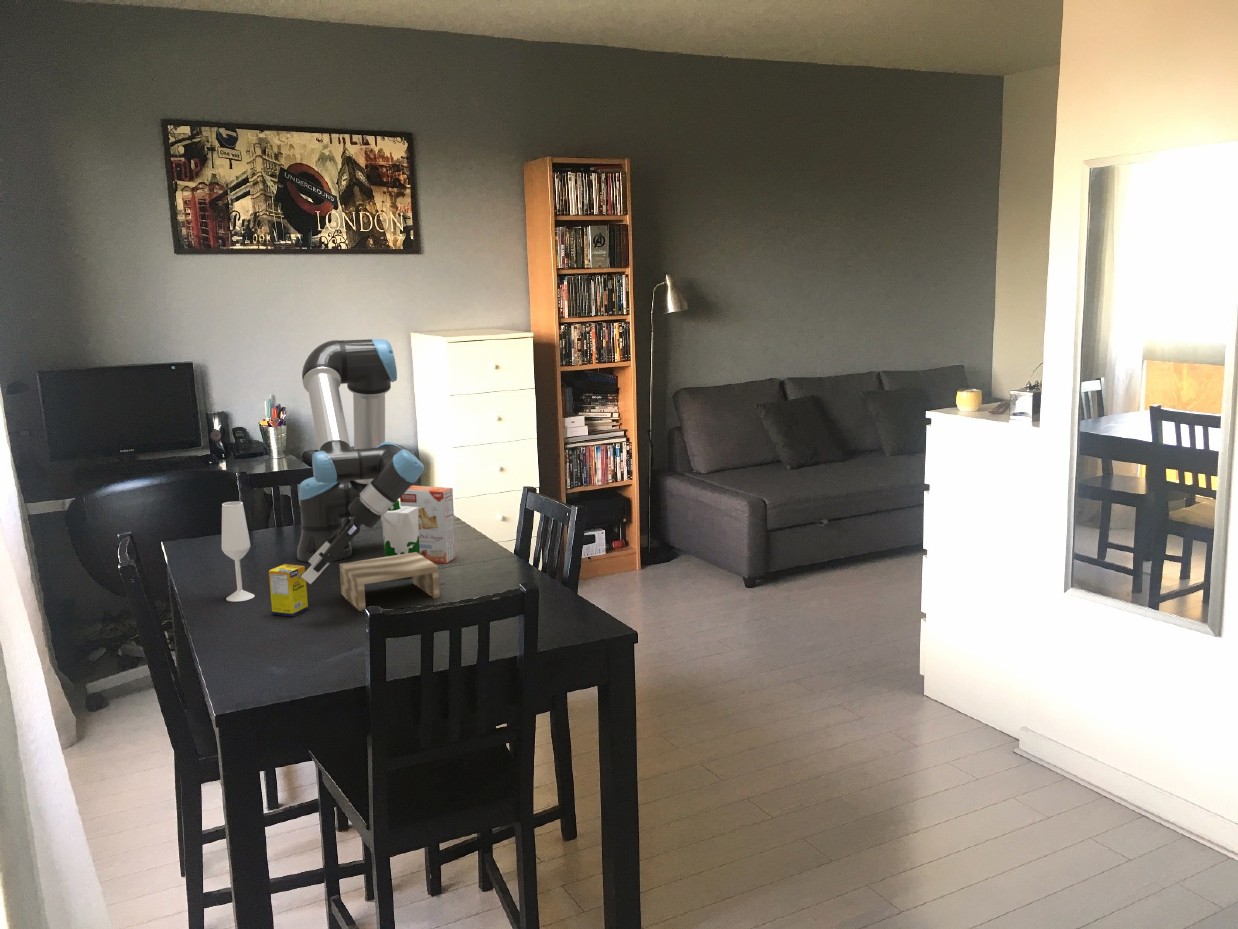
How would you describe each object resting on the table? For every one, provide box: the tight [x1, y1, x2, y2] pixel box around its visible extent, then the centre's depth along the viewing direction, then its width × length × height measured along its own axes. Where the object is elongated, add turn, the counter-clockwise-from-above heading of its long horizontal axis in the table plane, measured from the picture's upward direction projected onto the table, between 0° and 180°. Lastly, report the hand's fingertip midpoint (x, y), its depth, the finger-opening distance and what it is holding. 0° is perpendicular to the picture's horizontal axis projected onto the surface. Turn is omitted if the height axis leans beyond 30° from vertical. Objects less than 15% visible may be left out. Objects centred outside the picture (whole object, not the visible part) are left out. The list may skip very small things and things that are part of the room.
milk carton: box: [380, 499, 420, 579], centre depth 259 cm, size 9×9×20 cm
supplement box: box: [268, 563, 309, 617], centre depth 229 cm, size 6×6×11 cm
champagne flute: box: [221, 501, 255, 602], centre depth 240 cm, size 7×7×24 cm
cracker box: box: [399, 484, 457, 565], centre depth 273 cm, size 14×6×21 cm, turn 71°
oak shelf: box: [338, 552, 440, 612], centre depth 241 cm, size 16×20×8 cm
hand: (309, 572), depth 228 cm, fingers open, 13 cm apart
